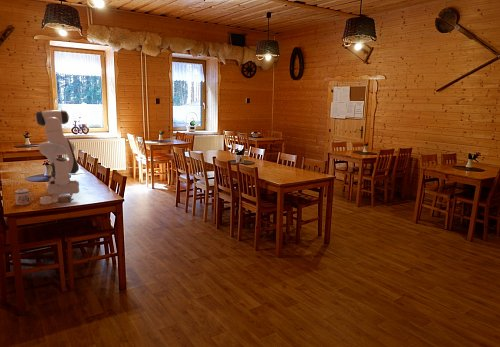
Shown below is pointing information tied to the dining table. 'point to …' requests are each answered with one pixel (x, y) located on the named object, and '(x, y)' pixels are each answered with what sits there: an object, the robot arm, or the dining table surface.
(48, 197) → the bowl
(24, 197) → the teacup with lid
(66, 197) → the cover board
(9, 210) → the dining table surface
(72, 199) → the mat
